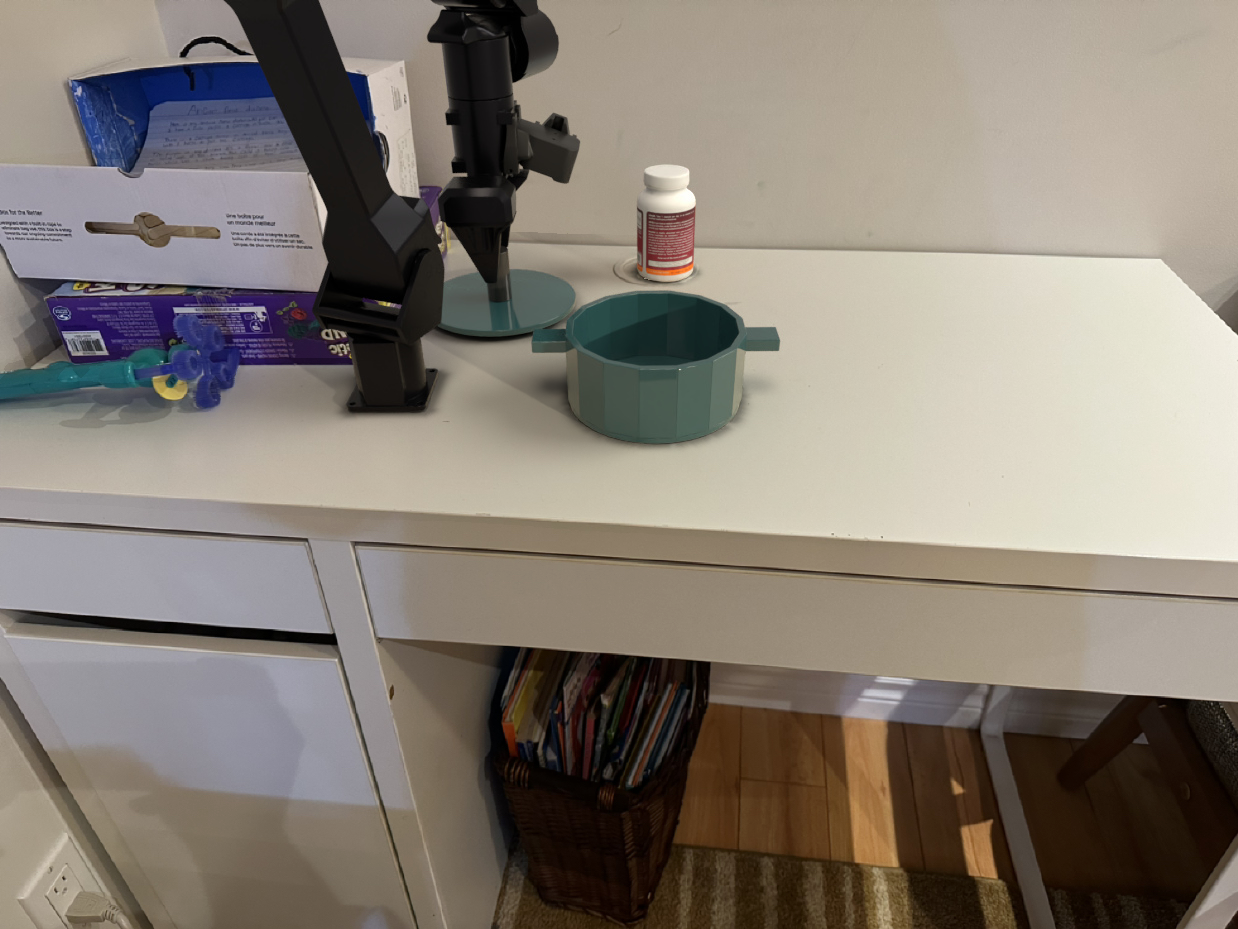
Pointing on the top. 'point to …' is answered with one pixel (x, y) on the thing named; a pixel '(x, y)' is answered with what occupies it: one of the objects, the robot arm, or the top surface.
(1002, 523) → the top surface
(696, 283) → the top surface
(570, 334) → the teal cooking pot
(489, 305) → the lid
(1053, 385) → the top surface
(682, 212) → the pill bottle
